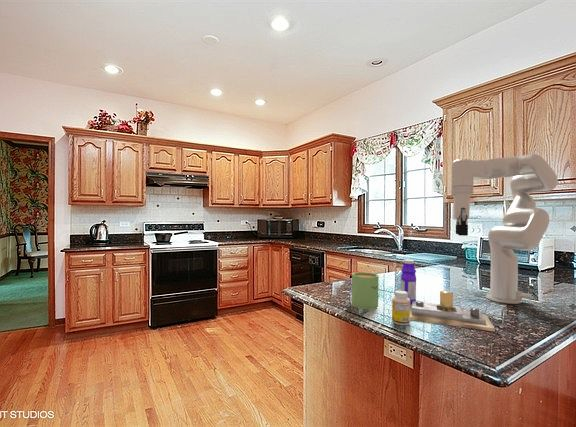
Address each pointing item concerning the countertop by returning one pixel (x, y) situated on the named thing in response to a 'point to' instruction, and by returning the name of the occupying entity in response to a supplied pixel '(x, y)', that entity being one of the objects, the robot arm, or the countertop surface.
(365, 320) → the countertop surface
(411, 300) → the bottle
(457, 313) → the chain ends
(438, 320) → the board
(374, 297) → the mug
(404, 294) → the supplement bottle
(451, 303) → the pin
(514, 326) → the countertop surface
